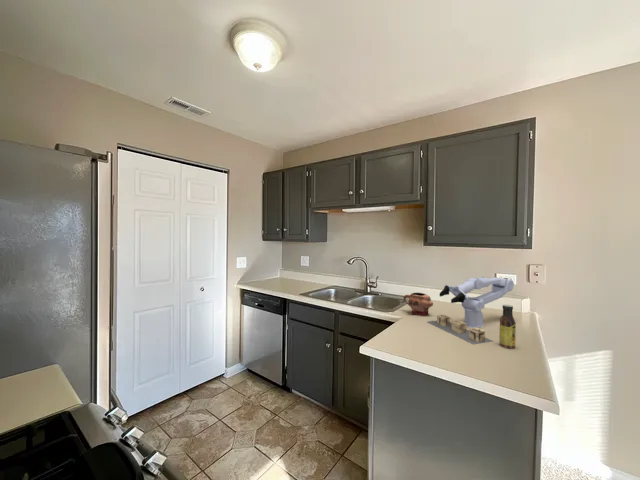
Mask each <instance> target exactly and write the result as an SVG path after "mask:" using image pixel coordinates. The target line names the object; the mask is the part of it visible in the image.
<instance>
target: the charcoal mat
mask: <svg viewBox="0 0 640 480" xmlns="http://www.w3.org/2000/svg"><path fill="white" fill-rule="evenodd" d="M426 323H427V324H430V325H431V326H434V327H436V328H438V329H440V330H442V331H444V332H446V333H448V334H451V335H453V336H455V337H457V338H458V339H461V340H464V341H465V342H466V343H469V344H471V345H478V344H480V345H481V344H486V343H492V342H494V340H492V339H490V338H487V337H485V341H482V342H476V341H473V340H471V339H469V329H467V328H466V333H460V334H458V333H456V332H454V331H452V322H450V326H441V325H439V324H437V320H430V321H426Z"/></svg>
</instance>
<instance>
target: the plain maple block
mask: <svg viewBox="0 0 640 480" xmlns="http://www.w3.org/2000/svg"><path fill="white" fill-rule="evenodd" d="M451 323H452V331H454V332H456V333H458V334H460V333H466V329H467V326H466V323H465V321H464V322H463V321H462V320H453V321H451Z"/></svg>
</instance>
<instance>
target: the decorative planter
mask: <svg viewBox="0 0 640 480" xmlns="http://www.w3.org/2000/svg"><path fill="white" fill-rule="evenodd" d="M406 298H408V302H407V299H406ZM431 298H432V297H431V296H430V295H428V294H426V293H422V292H412V293H410V294H405V295H404V296H403V301H404V303H406V305H408V306H409V307H410V309H411V313H412V314H413V315H414V316H419V317H425V316H426V317H427V316H428V315H429V309H430V308H431V307H433V306H434V303H433V301H432V299H431Z"/></svg>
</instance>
